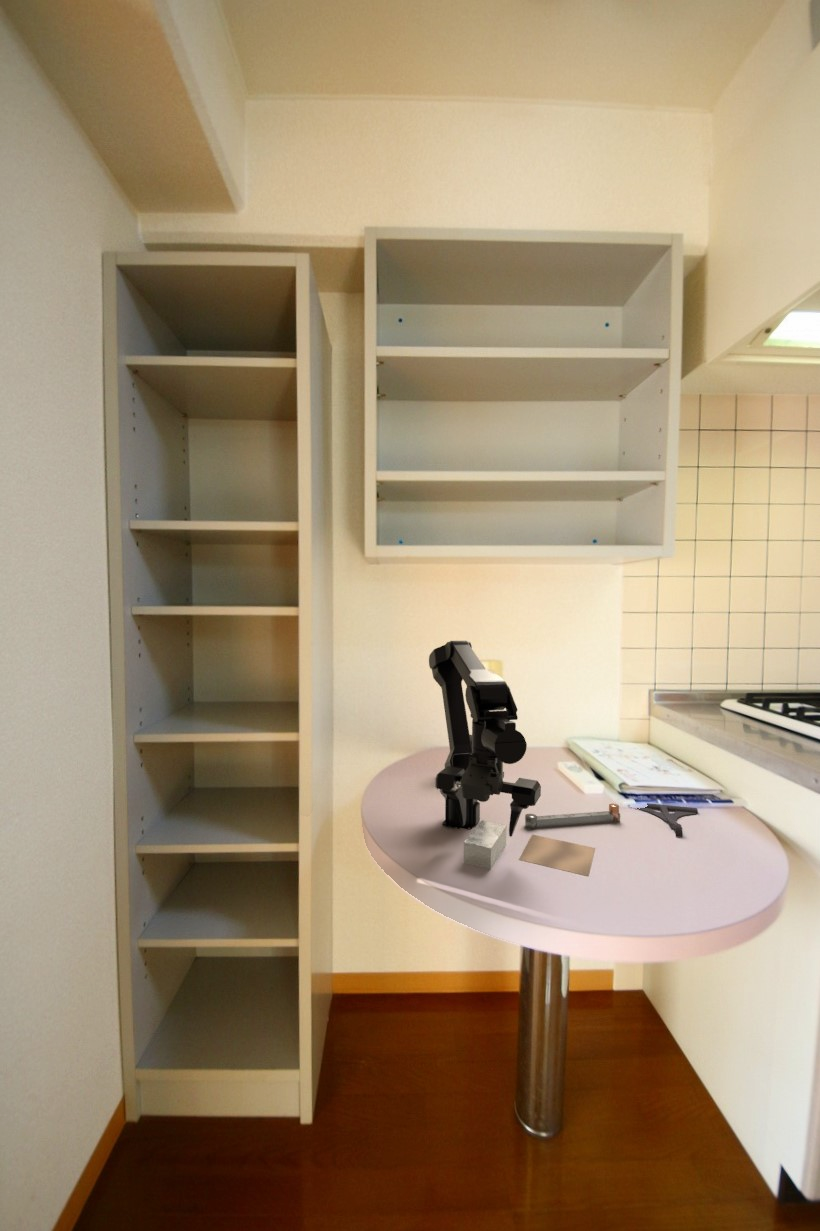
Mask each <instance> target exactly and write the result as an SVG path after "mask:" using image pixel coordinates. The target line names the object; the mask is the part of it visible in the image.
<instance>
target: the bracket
mask: <svg viewBox="0 0 820 1231" xmlns="http://www.w3.org/2000/svg"><path fill="white" fill-rule="evenodd" d="M646 803H647V805H648V806H647V807H645V808H640V809H639V808H637V809H639V810H638V811H641V812H644V813H647V814H650V815H652V816H655V817H657V818H659V819H661V820H662V821H664V822H665V823H667V825H668V826H669V828H670V829H671V830H670V831H674V833H675V837H678V838H679V837H680V838H683V836H684V835H683V828H682V824H680V823H679V822H677V821H678V819H680V818H683V817H687V816H688V817H689V816H695V815H699V811H698V808H697V807H689V806H681V805H680V806H679V805H670V804H659V803H652V802H651V803H650V802H649V803H648V802H646ZM637 809H636V810H637ZM659 811H660V812H659ZM670 812H671V813H670Z"/></svg>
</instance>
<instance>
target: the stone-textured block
mask: <svg viewBox="0 0 820 1231" xmlns="http://www.w3.org/2000/svg"><path fill="white" fill-rule="evenodd" d="M506 846H507V825H505V824H502V823H501V824H500V823H496V822H491V821H486V820H480V821H479V822H478V824H477V825H476V826H475V828H474V829H473V830H472V832H471V833H470V834H469V835H468V836H467V838H465V840H464V842H463V863H464V864H468V865H472V866H475V867H479V868H482V869H487V870H492V868H493V867H494V866H495V863H496V862H497V860H498V859H499V857H500V856H501V854H502V852H503V851H504V849H505V848H506Z"/></svg>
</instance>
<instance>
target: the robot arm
mask: <svg viewBox="0 0 820 1231" xmlns="http://www.w3.org/2000/svg"><path fill="white" fill-rule="evenodd" d="M428 666H429V669H430V670H431V672H432V677H433V680H434V681H435V682H436V683H437V684H438V685H439V687H440V689H441V693H442V701H443V709H444V715H445V716H444V717H445V723H446V729H447V737H448V738H447V739H448V746H449V753H448V755H447V758H446V760H445V763H444V768H443V769H442V770H440V771H439V772H438V773H437V774H436V776H435V784H434V785H435V788H436V789H437V790H439V792H440V794H441V795H442V797H443V798H444V800H445V804H444V805H445V806H444V807H445V809H444V810H445V815H444V816H445V817H444V820H443V821H442V822H441V823H442V824H441V825H442V826H443V827H448V828H453V829H457V830H460V829H463V830H472V829H473V828H474V827H477V825H478V824H479V823H480V822H481V820H480V819H481V802H482V803H485V802H487V801H489V800H490V796H493V795H496V796H499V795H501V793H504V794H509V795H511V799H512V801H511V802H510V804H509V805H510V806H509V807H510V815H509V816H510V817H509V826H508V836H509V838H511V837H512V836H513V835H514V833H515V830H516V827H517V824H518V821H519V819H520V816H521V814H522V812H523V810H526V809H527V810H528V809H529V807H534V806H536V804H537V803H538V801H539V799H540V798H541V796H542V792H541V791H542V790H541V789H542V786H541V784H540V783H539V781H538V780H535V779H531V778H530V779H529V778H523V777H518V778H517V780H516V781H515V782H509V781H504V780H503V779H504V778H505V772H504V764H506V765H507V764H508V765H513V764H515V763H518V762H519V761H520V760H522V759H523V758H524V756H525V755H526V751H527V745H528V744H527V741H526V737H524V734H523V733H521V731H519V730H517V728H516V727H517V724H516V722H515V721H518V717H519V716H518V714H517V712H518V708H517V705H516V702H515V699H514V697H513V694H512V692H511V689H510V688H511V687H510V686H509V685H508V684H507V682H506V681H505V680H504V679H503V678H502V677H501V676H500V675H499V674H496V673H494V672H491V671H489V670H487V669H486V666H485V665H484V664H483V663H482V661H481V660H480V658H479V657H478V656H477V654H476V653H475V651H474V649H473V646H472V643H471V641H468V640H450V641H447V642H446V643H445V644H443V645H441V646H439V647H437V648H436V647H435V648H434V649H433V650H432V651H431V653H430V654H429V656H428ZM462 682H464V684H465V685H466V688H465V697H464V690H463V684H462ZM465 701H466V704H467V707H468V709H469V712H470V718H471V719H472V721H471V734H470V729H469V723H468V717H467V716H468V715H467V711H466V710H467V709H466V704H465ZM470 735H472V747H471V741H470Z"/></svg>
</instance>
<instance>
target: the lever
mask: <svg viewBox="0 0 820 1231" xmlns="http://www.w3.org/2000/svg"><path fill="white" fill-rule="evenodd" d="M524 815H525V816H524V820H525V822H524V826H525V828H526V829H528V830H536V829H544V828H556V827H567V826H568V827H569V826H570V827H571V826H580V825H581V826H583V825H592V824H593V825H594V824H607V823H608V824H609V823H620V822H621V813H620V805H619V804H616V803H608V810H607V811H605V810H604V811H592V812H589V811H588V812H579V813H578V812H577V813H566V814H565V813H564V814H552V815H551V814H550V815H536V814H535V813H526V814H524Z"/></svg>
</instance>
